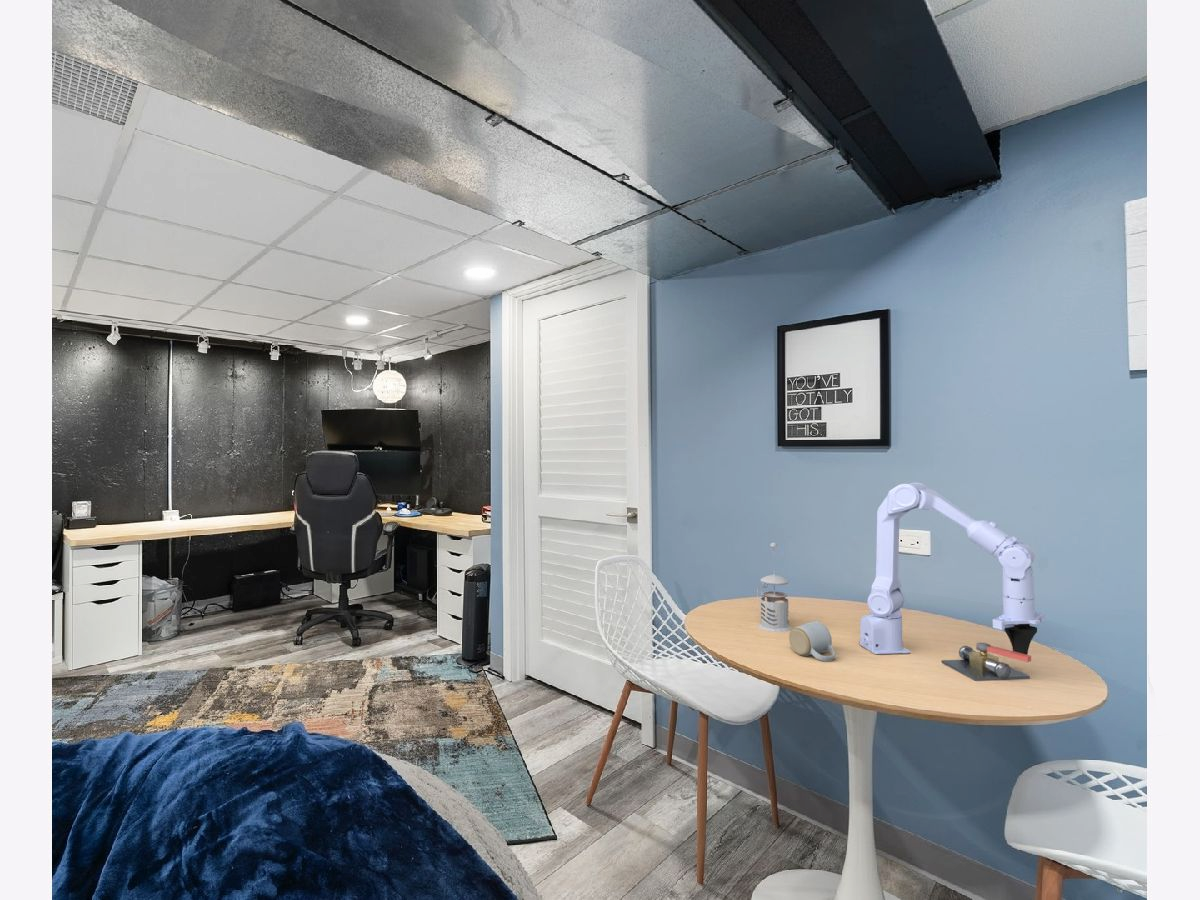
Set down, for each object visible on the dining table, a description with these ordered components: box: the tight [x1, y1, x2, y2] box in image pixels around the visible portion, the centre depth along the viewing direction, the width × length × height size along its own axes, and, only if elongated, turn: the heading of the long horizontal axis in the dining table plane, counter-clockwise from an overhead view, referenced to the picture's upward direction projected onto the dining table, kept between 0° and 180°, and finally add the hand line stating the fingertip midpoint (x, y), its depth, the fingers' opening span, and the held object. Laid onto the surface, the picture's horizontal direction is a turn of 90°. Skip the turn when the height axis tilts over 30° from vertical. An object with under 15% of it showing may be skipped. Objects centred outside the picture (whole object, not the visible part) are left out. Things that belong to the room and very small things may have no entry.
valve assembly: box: [941, 645, 1031, 682], centre depth 131 cm, size 12×13×4 cm
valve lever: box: [975, 642, 1032, 663], centre depth 128 cm, size 10×3×1 cm, turn 32°
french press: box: [756, 542, 793, 633], centre depth 166 cm, size 10×12×25 cm
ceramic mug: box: [788, 620, 836, 662], centre depth 142 cm, size 11×8×8 cm
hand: (1020, 657), depth 126 cm, fingers closed, pressing on valve lever
